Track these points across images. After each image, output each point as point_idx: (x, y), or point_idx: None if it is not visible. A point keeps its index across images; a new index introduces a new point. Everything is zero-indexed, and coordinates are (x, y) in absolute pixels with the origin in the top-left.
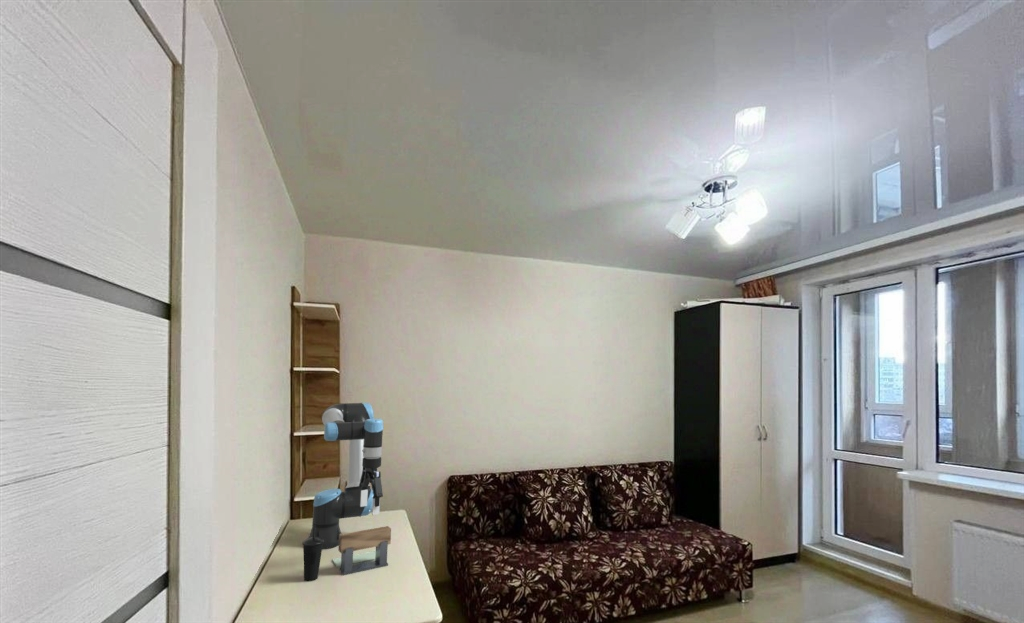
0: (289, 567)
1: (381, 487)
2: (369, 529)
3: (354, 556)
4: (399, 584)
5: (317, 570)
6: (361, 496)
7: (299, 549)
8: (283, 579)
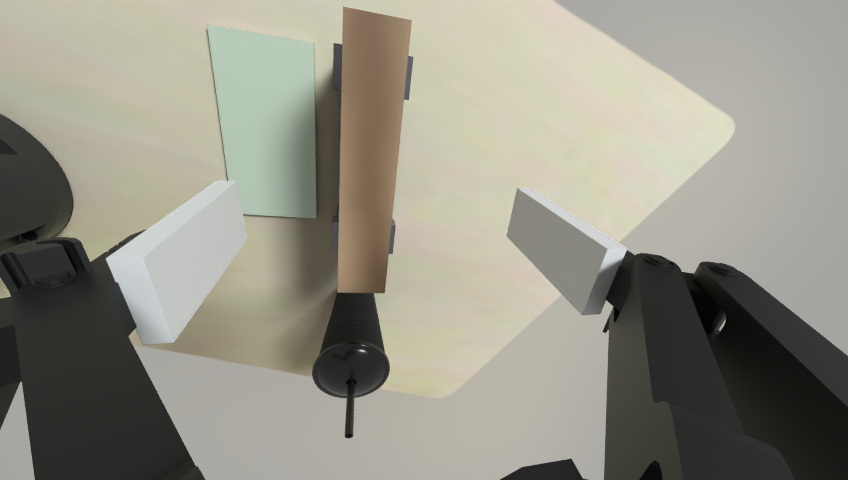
0: (233, 321)
1: (824, 346)
2: (344, 147)
3: (243, 135)
4: (562, 109)
5: (371, 296)
6: (209, 290)
7: None
8: (319, 341)
